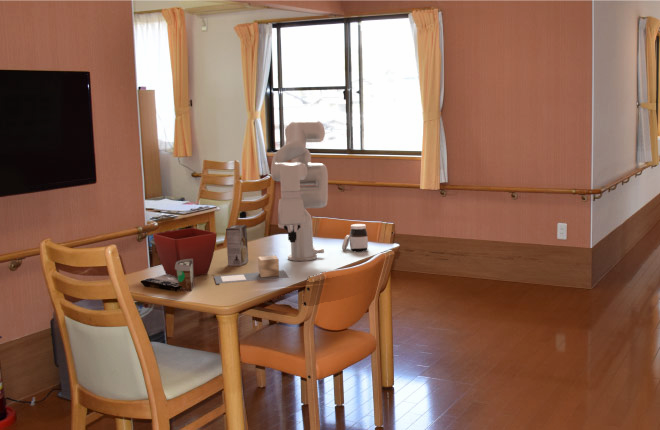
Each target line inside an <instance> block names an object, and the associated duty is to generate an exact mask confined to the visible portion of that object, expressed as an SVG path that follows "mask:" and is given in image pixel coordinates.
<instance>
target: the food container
mask: <svg viewBox="0 0 660 430" xmlns="http://www.w3.org/2000/svg"><path fill="white" fill-rule="evenodd" d="M175 269H176V270H177V276H178V278H177V282H178V287H179V286H182V288H181V290H180V291H183V292H192V291H193V289H194V286H195V280H194V279H195V278H194V277H195V276H194V275H193V259H185V260H180V261H177V262H176V264H175Z"/></svg>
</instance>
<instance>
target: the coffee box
mask: <svg viewBox="0 0 660 430" xmlns="http://www.w3.org/2000/svg"><path fill="white" fill-rule="evenodd" d="M225 234H226V235H225V237H226V252H227V254H226V255H227V266H230V267H233V266H234V267H235V266H236V267H238V266H240V267H242V266H244V265H245V264H246V263H248V262H249V252H248V251H249V248H248V247H249V246H248V232H247V224H234V225H231V226H228V227H227V228H225Z"/></svg>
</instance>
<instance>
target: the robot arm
mask: <svg viewBox="0 0 660 430" xmlns="http://www.w3.org/2000/svg"><path fill="white" fill-rule="evenodd" d="M325 133H326V131H325V126H324V124H323V123H322V122H320V121H319V120H314V119H313V120H308V119H307V120H294V121H292V122H289V124H288V125H286V127H285V130H284V135H285V143H284V145H282V146H281V147H280V148H279V149H278V150H276V151H275V153H274V155H273V157H272V159H271V166H270V175H271V178H272V180H273V181H275V182H280V198H279V200H278V204H277V205H278V207H277V222H278V226H277V227H278V228H279V229H284V230H285V231H286V232H287V235H288V237H287V239H288V241H289V242H290V248H291V249H290V252H291V253H290V254H288V256H287V259H288V260H289V261H294V262H308V261H312V260H316V259H317V258H318V254H324V253H325V249H324V248H320V247H319V248H315V247H314V242H313V241H314V239H313V237H314V236H313V219H312V215H311V214H310V213H309V212H308V210H307V209H321V208H325V207H327V205H328V202H329V200H328V199H329V194H328V193H329V190H328V189H329V186H328V185H329V177H328V176H329V173H328V168H327V166H326V164H324V163H320V162H312V154H311V152H310V150H309V149H308V148H307V147H306V146H307V143H322V142H323V141H324V139H325Z"/></svg>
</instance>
